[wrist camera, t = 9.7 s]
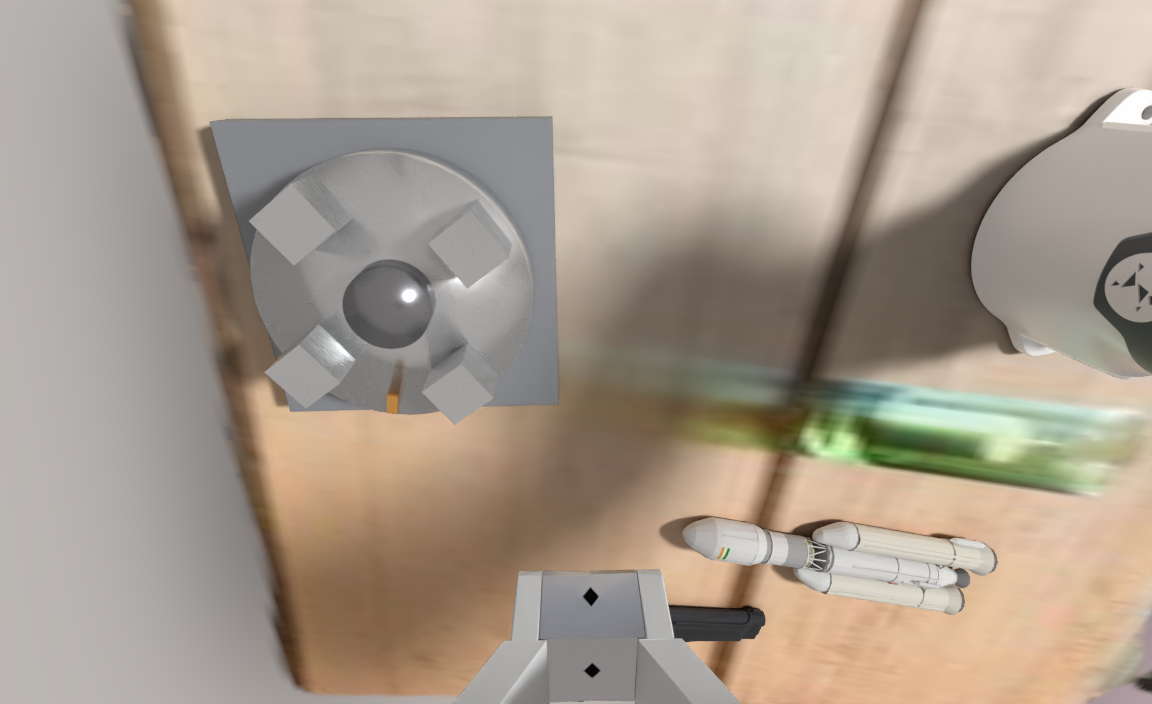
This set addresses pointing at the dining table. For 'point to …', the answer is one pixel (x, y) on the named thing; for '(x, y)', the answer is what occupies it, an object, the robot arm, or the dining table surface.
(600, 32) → the dining table surface
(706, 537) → the rocket model
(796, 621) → the dining table surface
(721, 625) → the handgun
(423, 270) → the domed disc mount
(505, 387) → the flat gray base plate
